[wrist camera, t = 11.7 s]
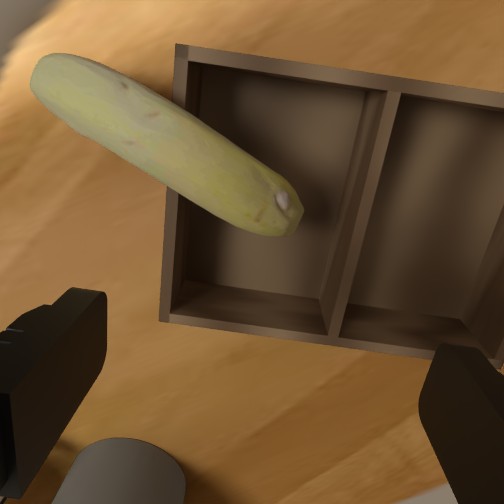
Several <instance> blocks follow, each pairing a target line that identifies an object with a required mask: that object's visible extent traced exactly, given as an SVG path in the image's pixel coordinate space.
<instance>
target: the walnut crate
mask: <svg viewBox="0 0 504 504" xmlns="http://www.w3.org/2000/svg"><path fill="white" fill-rule="evenodd" d="M172 102H173V103H174V104H176V105H178V106H179V107H181V108H182V109H184V110H185V111H187V112H188V113H190V114H192V115H193V116H195V117H196V118H198V119H199V120H201V121H202V122H203V123H205V124H206V125H208V126H209V127H211V128H212V129H213V130H215V131H216V132H218V133H219V134H221V135H223V136H224V137H226V138H227V139H228V140H230V141H231V142H232V143H234V144H235V145H237V146H238V147H239V148H241V149H242V150H244V151H245V152H247V153H248V154H250V155H251V156H253V157H254V158H255V159H257V160H258V161H260V162H261V163H263V164H264V165H266V166H267V167H269V168H270V169H271V170H273V171H274V172H276V173H278V174H279V175H281V176H282V177H284V178H285V179H286V180H287V181H288V182H289V183H290V184H291V186H292V187H293V188H294V190H295V191H296V193H297V195H298V197H299V200H300V202H301V204H302V206H303V207H304V213H303V216H302V218H301V220H300V222H299V224H298V227H297V229H296V231H295V233H294V234H293V235H290V236H288V235H285V236H277V237H275V236H263V235H259V234H255V233H252V232H249V231H247V230H244V229H241V228H239V227H236V226H234V225H232V224H230V223H228V222H227V221H225V220H223V219H221V218H219V217H217V216H215V215H214V214H212V213H210V212H209V211H207V210H206V209H204V208H202V207H201V206H199V205H197V204H196V203H194V202H192V201H191V200H189V199H187V198H186V197H184V196H183V195H181V194H179V193H178V192H176V191H175V190H173V189H171V188H170V187H168V186H167V192H166V209H165V225H164V242H163V258H162V275H161V291H160V308H159V321H160V322H167V323H174V324H181V325H188V326H195V327H203V328H210V329H217V330H224V331H231V332H238V333H245V334H252V335H259V336H267V337H274V338H281V339H288V340H295V341H302V342H309V343H316V344H324V345H331V346H338V347H345V348H352V349H359V350H366V351H373V352H380V353H388V354H395V355H402V356H409V357H416V358H423V359H430V360H433V357H434V355H435V352H436V350H437V348H438V346H439V345H440V344H442V343H449V344H456V345H462V346H469V347H475V348H478V349H479V350H480V351H481V352H482V353H483V354H484V355H485V357H486V358H487V359H488V360H489V361H490V363H491V364H492V365H493V366H494V368H495V369H501V367H502V365H503V363H504V93H500V92H493V91H487V90H480V89H474V88H467V87H460V86H454V85H447V84H441V83H434V82H427V81H421V80H414V79H408V78H401V77H394V76H388V75H381V74H374V73H368V72H361V71H355V70H348V69H341V68H335V67H328V66H322V65H315V64H308V63H302V62H295V61H288V60H282V59H275V58H269V57H262V56H255V55H249V54H242V53H236V52H229V51H222V50H216V49H209V48H203V47H196V46H189V45H183V44H175V61H174V77H173V94H172Z"/></svg>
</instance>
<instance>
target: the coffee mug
mask: <svg viewBox="0 0 504 504" xmlns="http://www.w3.org/2000/svg"><path fill="white" fill-rule="evenodd" d="M185 492H186V481H185V476H184V473H183V471H182V469H181V468H180V466H179V465H178V463H177V462H176V461H175V460H174V459H173V458H172V457H171V456H170V455H168V454H167V453H166V452H165V451H163V450H161V449H160V448H158V447H156V446H154V445H152V444H150V443H147V442H143V441H140V440H136V439H130V438H111V439H104V440H100V441H97V442H95V443H93V444H91V445H89V446H87V447H86V448H84V449H83V450H82V451H81V452H80V453H79V454H78V455H77V457H76V458H75V460H74V462H73V464H72V466H71V468H70V470H69V472H68V473H67V475H66V477H65V479H64V481H63V483H62V485H61V487H60V488H59V490H58V492H57V494H56V496H55V498H54V500H53V502H52V504H183V502H184V497H185Z"/></svg>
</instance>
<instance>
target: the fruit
mask: <svg viewBox="0 0 504 504" xmlns="http://www.w3.org/2000/svg"><path fill="white" fill-rule="evenodd" d="M30 89H31V91H32V92H33V94H34V95H35V96H36V98H37V99H38V100H39V101H40V102H41V103H42V104H43V105H44V106H45V107H47V108H48V109H49V110H50V111H51V112H52V113H53V114H55V115H56V116H57V117H58V118H60V119H61V120H63V121H64V122H66V123H67V124H68V125H69V126H70V127H72V128H73V129H74V130H75V131H77V132H78V133H80V134H81V135H83V136H85V137H88V138H89V139H91V140H93V141H95V142H97V143H99V144H100V145H102V146H104V147H105V148H107V149H109V150H110V151H112V152H114V153H115V154H117V155H118V156H120V157H122V158H123V159H125V160H126V161H128V162H129V163H131V164H133V165H134V166H136V167H138V168H139V169H141V170H143V171H144V172H146V173H148V174H149V175H151V176H152V177H154V178H155V179H157V180H159V181H160V182H162V183H163V184H165V185H167V186H168V187H170V188H171V189H173V190H175V191H176V192H178V193H179V194H181V195H183V196H184V197H186V198H187V199H189V200H191V201H192V202H194V203H196V204H197V205H199V206H201V207H202V208H204V209H206V210H207V211H209V212H210V213H212V214H214V215H215V216H217V217H219V218H221V219H223V220H225V221H227V222H228V223H230V224H232V225H234V226H236V227H239V228H241V229H244V230H247V231H249V232H252V233H255V234H259V235H263V236H275V237H277V236H285V235H288V236H290V235H293V234H294V233H295V231H296V229H297V227H298V224H299V222H300V220H301V218H302V216H303V213H304V207H303V206H302V204H301V202H300V200H299V197H298V195H297V193H296V191H295V190H294V188H293V187H292V186H291V184H290V183H289V182H288V181H287V180H286V179H285V178H284V177H282V176H281V175H279V174H278V173H276V172H274V171H273V170H271V169H270V168H269V167H267V166H266V165H264V164H263V163H261V162H260V161H258V160H257V159H255V158H254V157H253V156H251V155H250V154H248V153H247V152H245V151H244V150H242V149H241V148H239V147H238V146H237V145H235V144H234V143H232V142H231V141H230V140H228V139H227V138H226V137H224V136H223V135H221V134H219V133H218V132H216V131H215V130H213V129H212V128H211V127H209V126H208V125H206V124H205V123H203V122H202V121H201V120H199V119H198V118H196V117H195V116H193V115H192V114H190V113H188V112H187V111H185V110H184V109H182V108H181V107H179V106H178V105H176V104H174V103H173V102H171V101H170V100H168V99H166V98H165V97H163V96H161V95H159V94H158V93H156V92H154V91H153V90H151V89H149V88H148V87H146V86H144V85H143V84H141V83H139V82H137V81H135V80H133V79H132V78H130V77H128V76H126V75H124V74H122V73H120V72H118V71H116V70H114V69H112V68H110V67H108V66H106V65H103V64H101V63H99V62H96V61H93V60H90V59H87V58H84V57H80V56H76V55H72V54H64V53H53V54H49V55H46V56H44V57H42V58H41V59H40V60H39V61H38V63H37V64H36V66H35V68H34V70H33V73H32V76H31V80H30Z"/></svg>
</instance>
